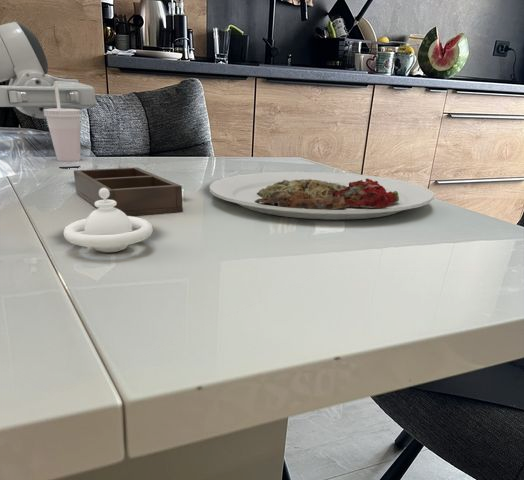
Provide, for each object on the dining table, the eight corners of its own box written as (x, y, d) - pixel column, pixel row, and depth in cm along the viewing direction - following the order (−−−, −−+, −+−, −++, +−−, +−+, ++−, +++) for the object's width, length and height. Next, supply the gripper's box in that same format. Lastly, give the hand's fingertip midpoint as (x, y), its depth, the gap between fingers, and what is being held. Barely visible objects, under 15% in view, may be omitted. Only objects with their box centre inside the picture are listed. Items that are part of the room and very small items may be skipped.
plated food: (214, 182, 88) (213, 160, 86) (398, 185, 89) (400, 163, 88) (203, 225, 61) (202, 194, 59) (467, 228, 62) (472, 198, 61)
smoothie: (49, 165, 101) (37, 81, 95) (85, 164, 103) (75, 82, 97) (53, 170, 96) (40, 81, 90) (90, 169, 98) (81, 82, 92)
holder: (109, 218, 63) (106, 190, 62) (76, 193, 77) (73, 170, 76) (182, 211, 67) (181, 185, 66) (139, 189, 81) (137, 167, 80)
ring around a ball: (48, 251, 51) (104, 269, 47) (37, 189, 48) (95, 201, 44) (116, 233, 56) (171, 247, 52) (109, 176, 54) (167, 186, 50)
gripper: (-21, 77, 109) (-15, 77, 98) (84, 79, 118) (100, 79, 107) (-15, 112, 111) (-8, 115, 101) (87, 111, 120) (104, 115, 110)
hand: (49, 97), depth 104 cm, fingers open, 8 cm apart
